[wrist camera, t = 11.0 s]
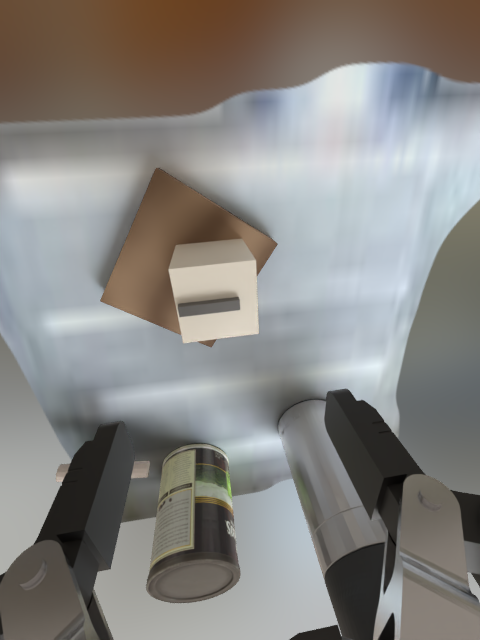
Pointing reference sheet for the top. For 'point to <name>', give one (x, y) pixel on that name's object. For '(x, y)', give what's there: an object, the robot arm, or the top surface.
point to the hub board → (171, 248)
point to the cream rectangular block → (215, 290)
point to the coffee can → (194, 528)
